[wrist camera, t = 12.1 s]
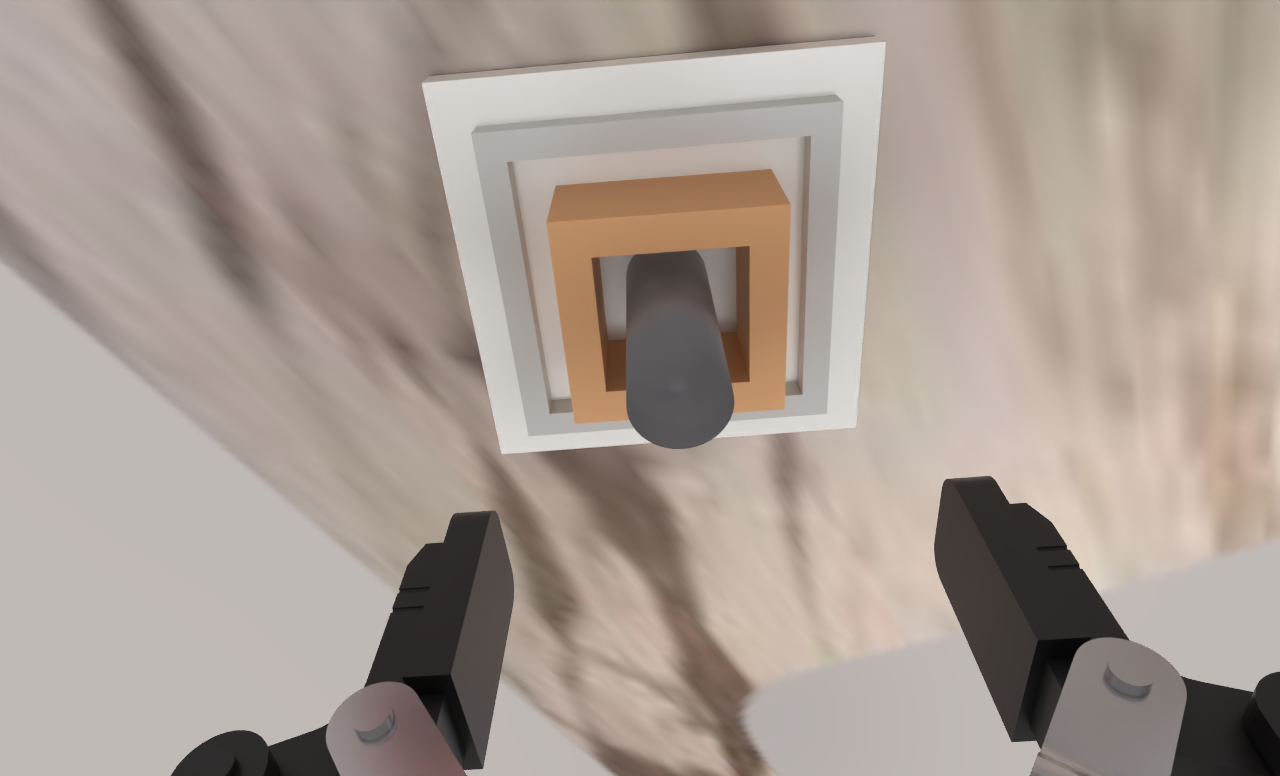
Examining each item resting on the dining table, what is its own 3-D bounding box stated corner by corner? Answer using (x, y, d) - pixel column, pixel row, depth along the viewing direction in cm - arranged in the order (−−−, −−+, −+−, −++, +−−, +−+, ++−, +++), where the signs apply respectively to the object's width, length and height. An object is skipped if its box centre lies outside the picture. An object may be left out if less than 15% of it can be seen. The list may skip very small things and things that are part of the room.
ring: (771, 168, 22) (790, 203, 19) (768, 357, 25) (784, 409, 22) (555, 185, 22) (546, 222, 19) (580, 370, 25) (575, 423, 22)
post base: (875, 36, 21) (996, 99, 14) (848, 411, 27) (923, 580, 20) (429, 75, 21) (336, 156, 14) (505, 437, 27) (465, 612, 21)
